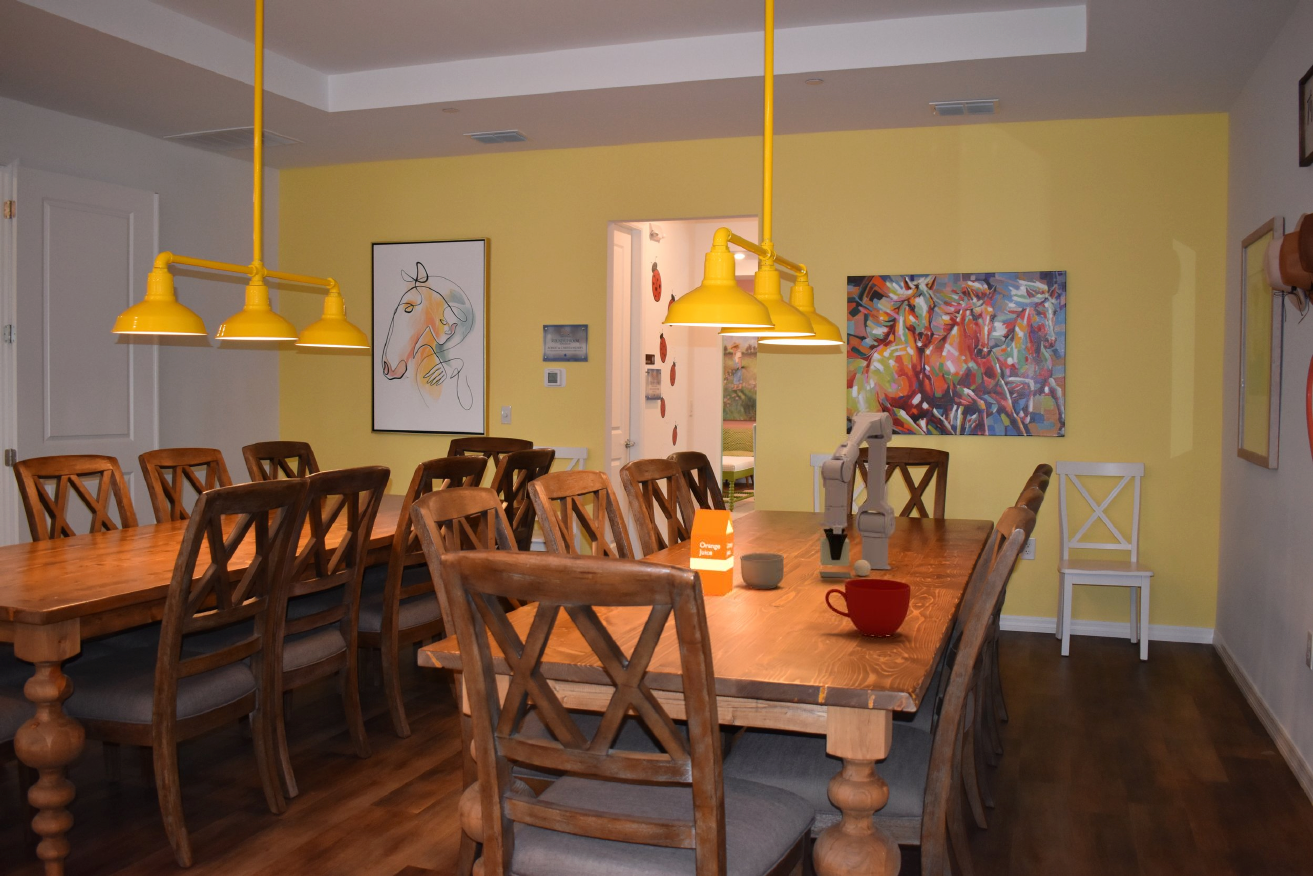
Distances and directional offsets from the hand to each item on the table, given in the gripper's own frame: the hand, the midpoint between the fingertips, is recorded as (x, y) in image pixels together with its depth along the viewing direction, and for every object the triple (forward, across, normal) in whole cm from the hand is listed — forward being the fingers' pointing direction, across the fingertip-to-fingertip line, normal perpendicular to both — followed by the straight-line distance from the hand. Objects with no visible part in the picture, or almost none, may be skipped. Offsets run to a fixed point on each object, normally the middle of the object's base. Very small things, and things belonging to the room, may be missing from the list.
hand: (834, 557), depth 268 cm
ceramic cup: (+6, +60, +2) cm, 60 cm away
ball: (+4, -8, +8) cm, 12 cm away
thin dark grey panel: (+6, -8, +1) cm, 10 cm away
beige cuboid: (+2, 0, 0) cm, 2 cm away
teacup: (+6, +11, -19) cm, 23 cm away
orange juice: (+6, +21, -31) cm, 38 cm away
